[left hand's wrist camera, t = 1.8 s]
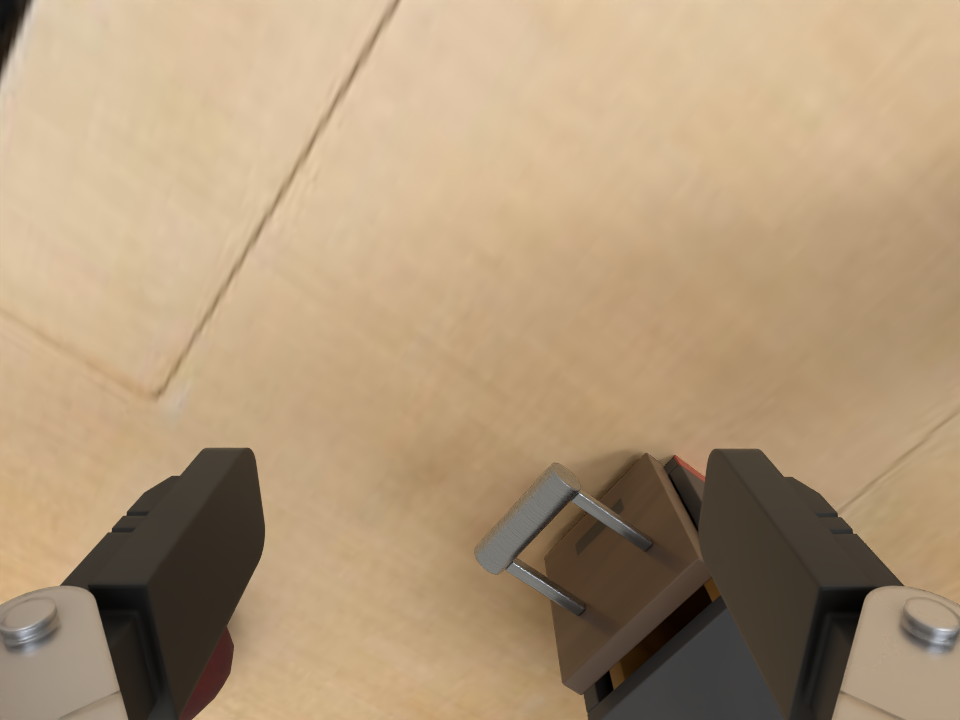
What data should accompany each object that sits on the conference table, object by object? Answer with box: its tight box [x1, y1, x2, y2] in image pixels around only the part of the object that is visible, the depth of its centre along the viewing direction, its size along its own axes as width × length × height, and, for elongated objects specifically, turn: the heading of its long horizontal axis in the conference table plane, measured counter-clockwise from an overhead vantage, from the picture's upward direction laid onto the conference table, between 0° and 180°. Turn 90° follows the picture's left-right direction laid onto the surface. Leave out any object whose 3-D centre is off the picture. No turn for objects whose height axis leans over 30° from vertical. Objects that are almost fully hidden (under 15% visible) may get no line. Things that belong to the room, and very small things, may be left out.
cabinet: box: [584, 455, 784, 720], centre depth 35 cm, size 21×10×11 cm, turn 53°
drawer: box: [474, 453, 721, 695], centre depth 33 cm, size 26×9×9 cm, turn 53°
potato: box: [179, 626, 234, 720], centre depth 37 cm, size 7×8×7 cm
